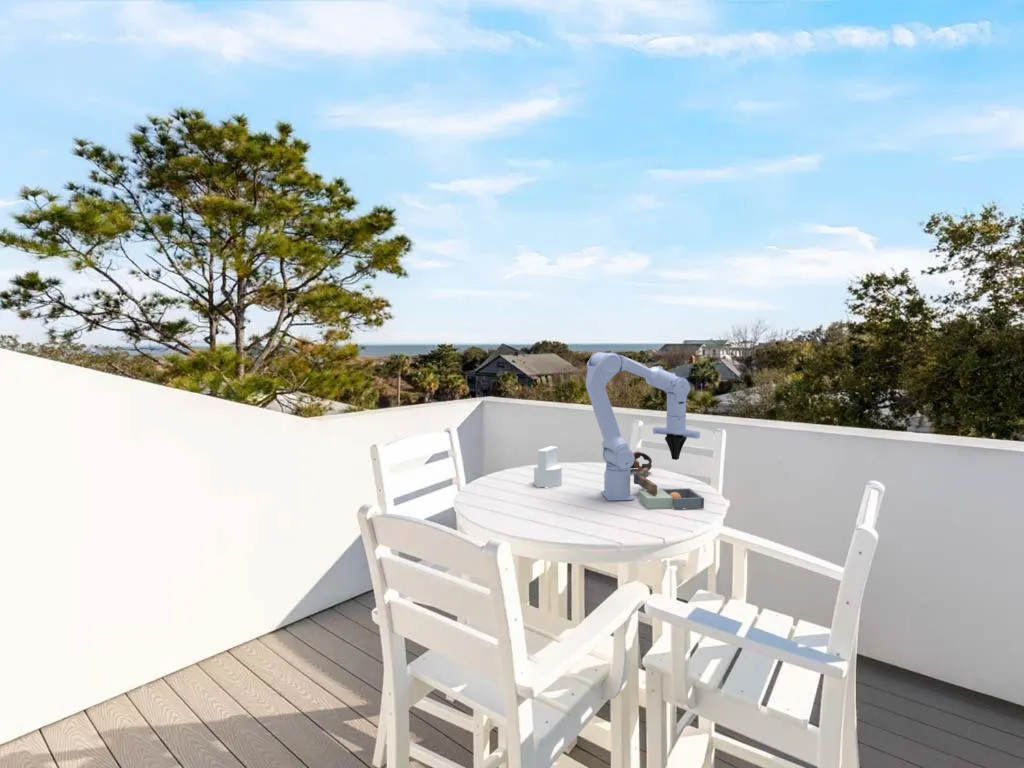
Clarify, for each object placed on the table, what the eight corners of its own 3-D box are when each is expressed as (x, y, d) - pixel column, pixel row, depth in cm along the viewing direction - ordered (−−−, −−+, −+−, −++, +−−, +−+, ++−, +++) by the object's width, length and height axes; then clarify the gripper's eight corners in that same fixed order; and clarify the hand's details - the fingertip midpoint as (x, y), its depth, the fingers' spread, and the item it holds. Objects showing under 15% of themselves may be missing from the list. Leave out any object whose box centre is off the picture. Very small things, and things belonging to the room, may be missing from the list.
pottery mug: (644, 470, 217) (652, 452, 213) (647, 487, 209) (655, 469, 204) (613, 462, 216) (620, 444, 212) (614, 479, 208) (622, 461, 204)
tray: (661, 499, 177) (662, 489, 177) (689, 498, 178) (689, 488, 177) (674, 509, 166) (674, 499, 166) (703, 508, 167) (703, 498, 167)
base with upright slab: (553, 489, 189) (553, 452, 188) (529, 485, 193) (529, 449, 192) (566, 483, 196) (566, 447, 195) (542, 480, 201) (542, 445, 200)
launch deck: (639, 500, 175) (639, 490, 175) (663, 500, 176) (663, 490, 175) (647, 508, 167) (647, 498, 167) (672, 508, 168) (672, 497, 167)
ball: (680, 497, 173) (671, 505, 173) (673, 488, 173) (664, 496, 173) (685, 500, 170) (676, 508, 169) (678, 490, 169) (668, 499, 169)
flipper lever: (630, 475, 192) (631, 466, 192) (648, 475, 192) (648, 466, 192) (637, 494, 170) (637, 483, 170) (657, 494, 169) (657, 484, 169)
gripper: (704, 416, 181) (703, 460, 182) (660, 412, 190) (659, 454, 191) (694, 418, 176) (693, 464, 177) (650, 414, 185) (649, 457, 186)
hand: (675, 459), depth 184 cm, fingers closed
